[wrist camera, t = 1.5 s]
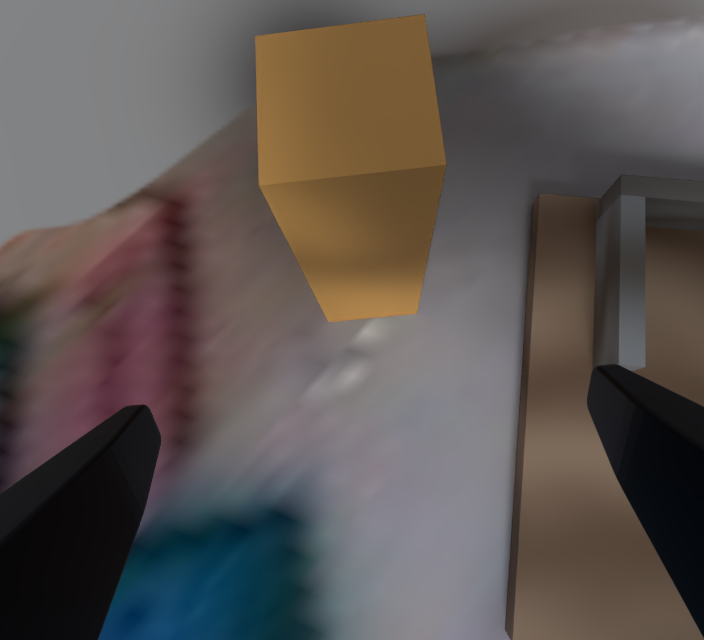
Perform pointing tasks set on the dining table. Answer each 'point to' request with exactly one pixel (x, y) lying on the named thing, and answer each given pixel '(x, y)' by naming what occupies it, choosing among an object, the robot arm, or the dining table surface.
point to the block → (353, 159)
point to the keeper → (573, 415)
